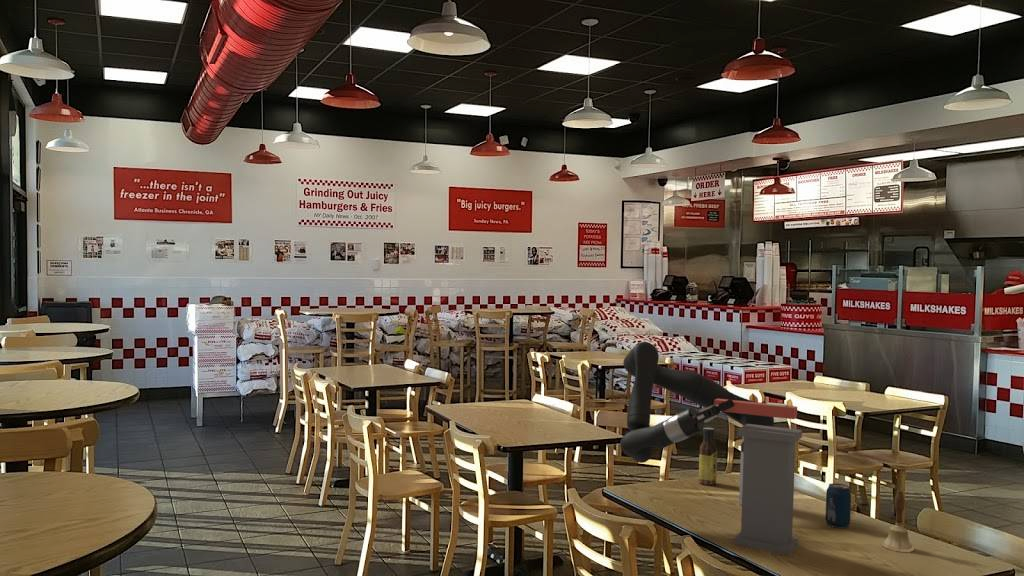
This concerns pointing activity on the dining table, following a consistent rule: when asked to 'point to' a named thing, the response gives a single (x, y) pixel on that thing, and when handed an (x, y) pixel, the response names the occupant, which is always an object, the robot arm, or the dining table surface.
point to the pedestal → (768, 488)
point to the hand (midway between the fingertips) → (734, 401)
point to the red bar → (761, 409)
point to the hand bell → (898, 527)
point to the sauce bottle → (708, 458)
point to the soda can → (838, 505)
